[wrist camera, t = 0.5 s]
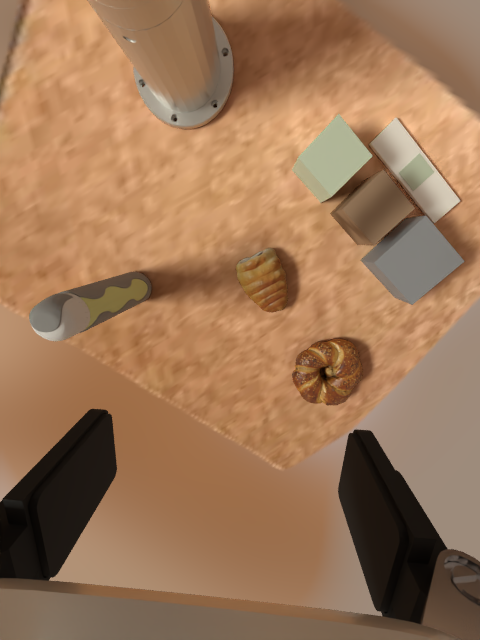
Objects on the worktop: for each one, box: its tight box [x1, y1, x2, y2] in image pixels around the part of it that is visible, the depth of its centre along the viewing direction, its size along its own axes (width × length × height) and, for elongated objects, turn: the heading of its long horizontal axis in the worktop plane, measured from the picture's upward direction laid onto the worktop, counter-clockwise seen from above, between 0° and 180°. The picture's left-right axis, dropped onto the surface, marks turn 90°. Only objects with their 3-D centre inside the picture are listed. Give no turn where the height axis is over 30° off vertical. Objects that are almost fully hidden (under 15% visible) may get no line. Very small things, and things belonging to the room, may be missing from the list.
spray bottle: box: [29, 272, 152, 341], centre depth 34 cm, size 5×5×20 cm
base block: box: [361, 216, 464, 305], centre depth 38 cm, size 8×8×5 cm
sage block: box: [292, 114, 372, 203], centre depth 35 cm, size 6×6×6 cm
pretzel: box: [292, 339, 363, 405], centre depth 44 cm, size 12×11×4 cm
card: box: [369, 118, 460, 223], centre depth 37 cm, size 14×4×1 cm, turn 45°
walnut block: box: [330, 170, 415, 245], centre depth 36 cm, size 6×6×6 cm
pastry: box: [236, 248, 288, 312], centre depth 41 cm, size 9×7×4 cm
